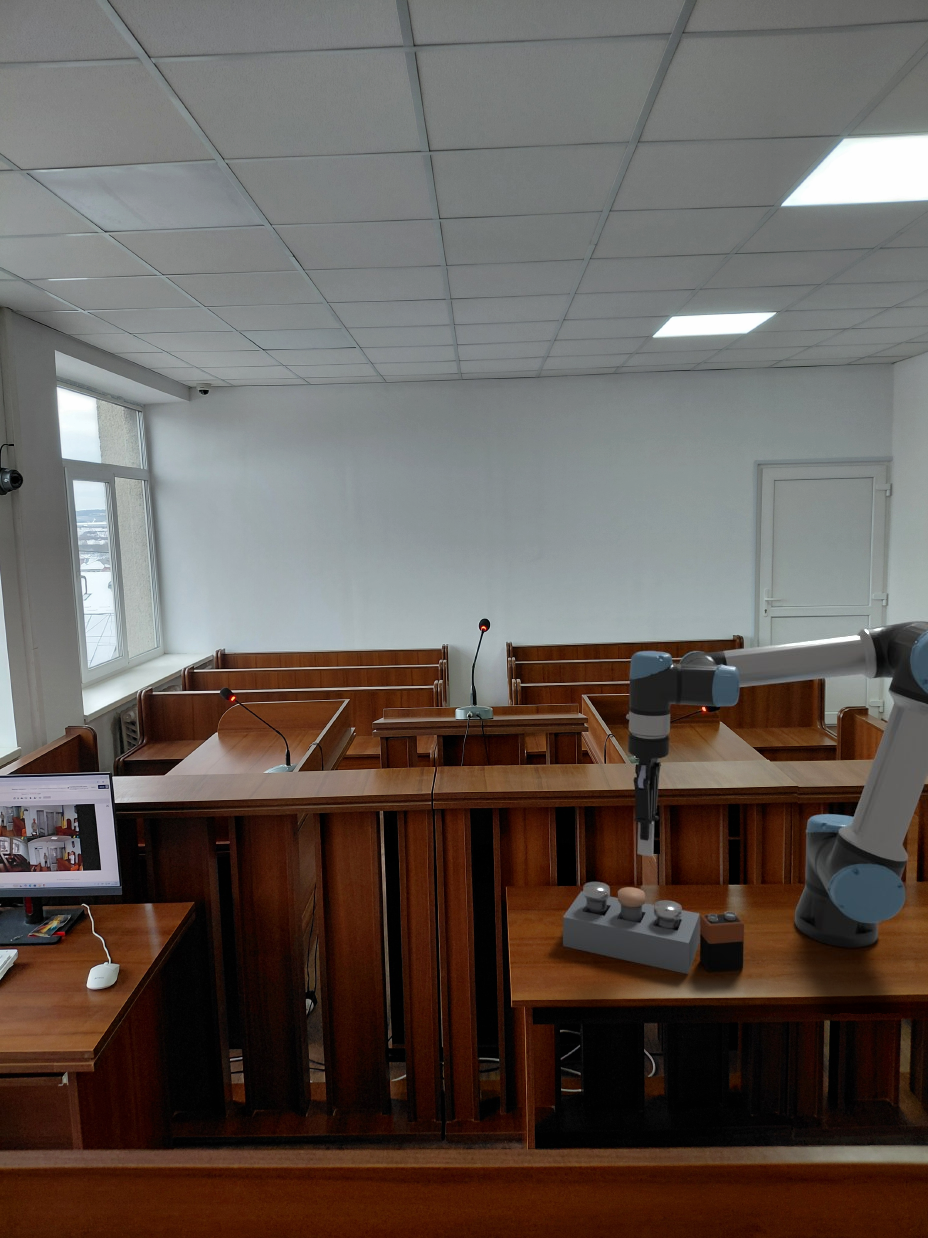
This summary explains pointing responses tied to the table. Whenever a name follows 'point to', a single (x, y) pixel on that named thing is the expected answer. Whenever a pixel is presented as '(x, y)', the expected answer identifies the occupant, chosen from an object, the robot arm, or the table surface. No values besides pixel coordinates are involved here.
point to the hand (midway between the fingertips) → (645, 853)
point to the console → (632, 935)
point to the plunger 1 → (596, 897)
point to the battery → (721, 942)
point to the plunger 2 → (667, 914)
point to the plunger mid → (631, 903)
